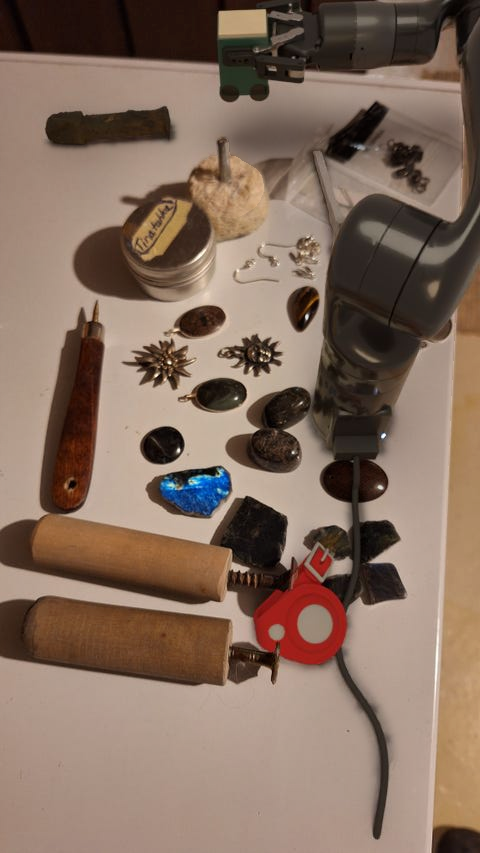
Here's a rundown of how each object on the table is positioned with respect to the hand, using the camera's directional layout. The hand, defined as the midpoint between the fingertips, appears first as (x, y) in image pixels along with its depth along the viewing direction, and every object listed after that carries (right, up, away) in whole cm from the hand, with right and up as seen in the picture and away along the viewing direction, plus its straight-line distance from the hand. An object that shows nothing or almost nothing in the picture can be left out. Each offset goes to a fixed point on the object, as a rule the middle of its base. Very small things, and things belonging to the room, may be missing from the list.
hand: (223, 41), depth 82 cm
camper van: (+3, -3, +6) cm, 7 cm away
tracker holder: (+10, -69, -13) cm, 71 cm away
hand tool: (-18, -6, +16) cm, 24 cm away
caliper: (+15, -18, +9) cm, 25 cm away
